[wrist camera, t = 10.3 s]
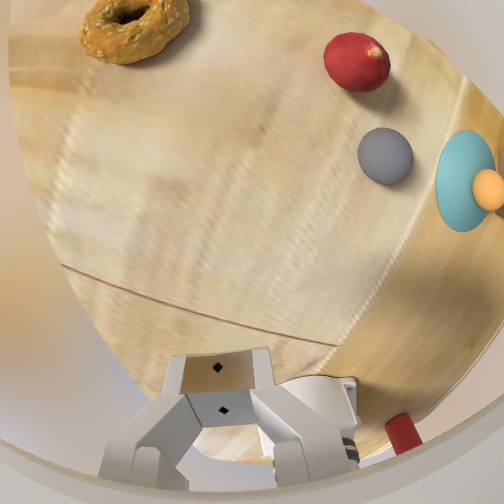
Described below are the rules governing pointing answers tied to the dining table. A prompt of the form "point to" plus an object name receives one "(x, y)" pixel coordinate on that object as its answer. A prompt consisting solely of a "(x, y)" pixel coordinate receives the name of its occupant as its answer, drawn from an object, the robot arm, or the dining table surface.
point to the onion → (357, 62)
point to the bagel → (131, 28)
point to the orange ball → (488, 189)
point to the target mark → (461, 180)
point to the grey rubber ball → (385, 156)
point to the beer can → (402, 434)
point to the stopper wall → (503, 173)
